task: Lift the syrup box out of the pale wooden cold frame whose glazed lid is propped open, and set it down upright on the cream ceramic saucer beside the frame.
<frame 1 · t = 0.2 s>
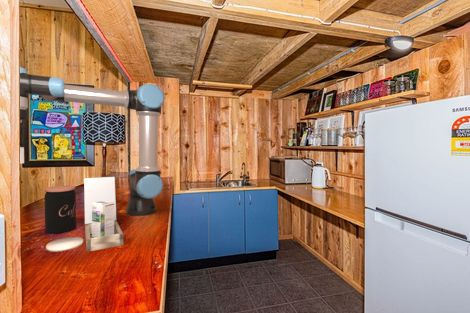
hand: (16, 164, 96), 28 cm above the table, fingers open, 13 cm apart
syrup box: (103, 240, 96), resting in cold frame
cold frame: (103, 239, 96), on the table
coffee jar: (61, 230, 105), on the table
lid: (100, 199, 105), point 13 cm above the table, hinge at 105.0°
saucer: (65, 244, 90), on the table
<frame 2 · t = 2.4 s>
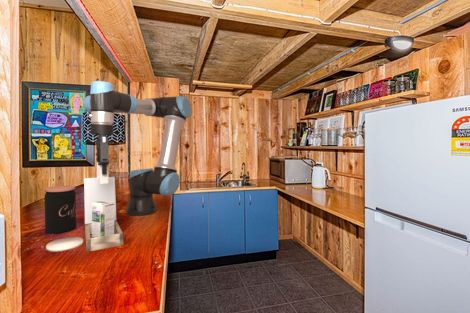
hand: (102, 181, 94), 22 cm above the table, fingers open, 13 cm apart
nothing on the table moved.
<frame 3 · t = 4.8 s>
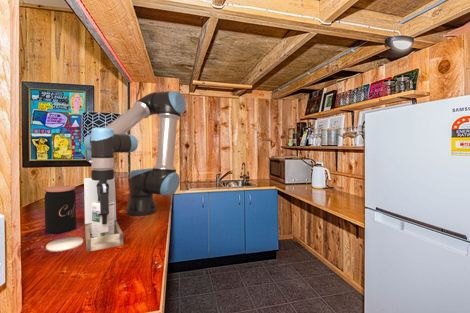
hand: (103, 228, 95), 4 cm above the table, fingers closed on syrup box, 8 cm apart
syrup box: (103, 240, 96), resting in cold frame, touching gripper
everything else where it was.
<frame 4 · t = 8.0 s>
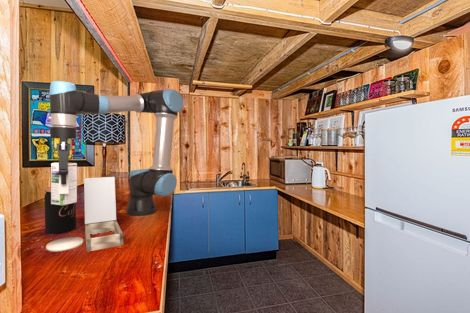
hand: (64, 191, 89), 19 cm above the table, fingers closed on syrup box, 8 cm apart
syrup box: (64, 203, 89), point 15 cm above the table, touching gripper
everything else where it was.
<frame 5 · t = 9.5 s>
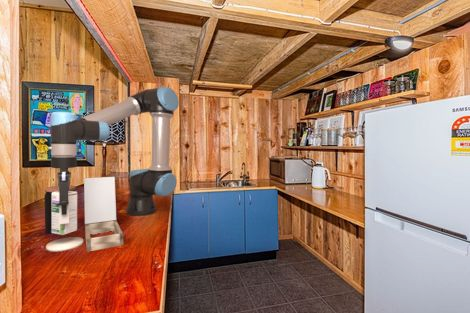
hand: (64, 220, 90), 9 cm above the table, fingers closed on syrup box, 8 cm apart
syrup box: (64, 232, 90), point 5 cm above the table, touching gripper
everything else where it was.
when the fingers open (6 cm above the table, at t = 11.0 s): syrup box drops 1 cm, resting on saucer.
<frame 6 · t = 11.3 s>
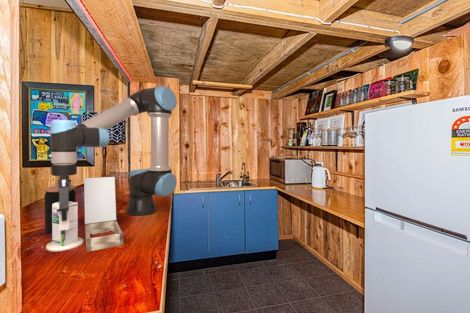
hand: (65, 224, 90), 7 cm above the table, fingers open, 11 cm apart
syrup box: (65, 243, 90), point 1 cm above the table, touching saucer
everything else where it was.
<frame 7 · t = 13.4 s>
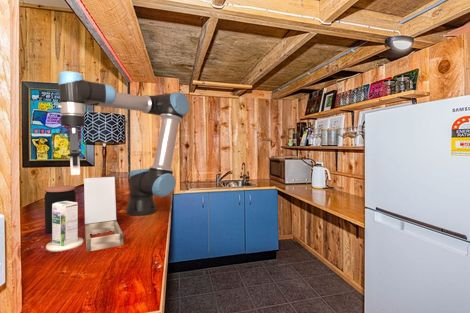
hand: (75, 172, 94), 25 cm above the table, fingers open, 13 cm apart
nothing on the table moved.
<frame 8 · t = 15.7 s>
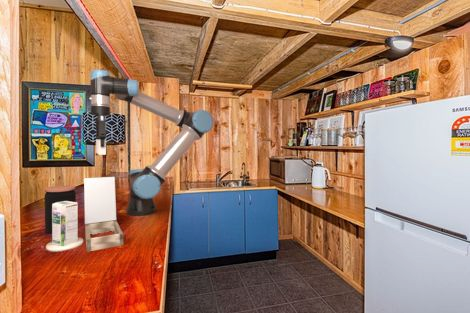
hand: (100, 154, 112), 32 cm above the table, fingers open, 13 cm apart
nothing on the table moved.
at the end: syrup box inside the target area on the saucer (0.2 cm from its centre), point 0.6 cm above the saucer's base; syrup box tilted 0°; the gripper is holding nothing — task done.
